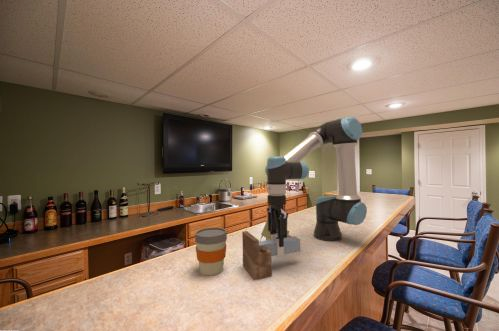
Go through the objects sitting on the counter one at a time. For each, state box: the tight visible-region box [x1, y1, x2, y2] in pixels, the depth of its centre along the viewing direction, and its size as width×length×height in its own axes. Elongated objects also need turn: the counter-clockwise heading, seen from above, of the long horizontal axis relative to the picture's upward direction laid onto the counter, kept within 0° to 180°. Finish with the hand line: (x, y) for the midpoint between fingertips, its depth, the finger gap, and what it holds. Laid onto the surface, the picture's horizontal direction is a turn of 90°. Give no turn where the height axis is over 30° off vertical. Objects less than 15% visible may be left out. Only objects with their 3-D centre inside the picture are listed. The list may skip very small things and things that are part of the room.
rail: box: [259, 236, 301, 257], centre depth 85 cm, size 20×4×5 cm, turn 113°
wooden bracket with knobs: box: [241, 230, 273, 281], centre depth 82 cm, size 7×12×14 cm, turn 22°
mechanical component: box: [259, 218, 293, 241], centre depth 106 cm, size 8×17×20 cm, turn 79°
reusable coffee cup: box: [194, 227, 228, 277], centre depth 83 cm, size 13×13×15 cm
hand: (277, 252), depth 85 cm, fingers closed on rail, 4 cm apart
